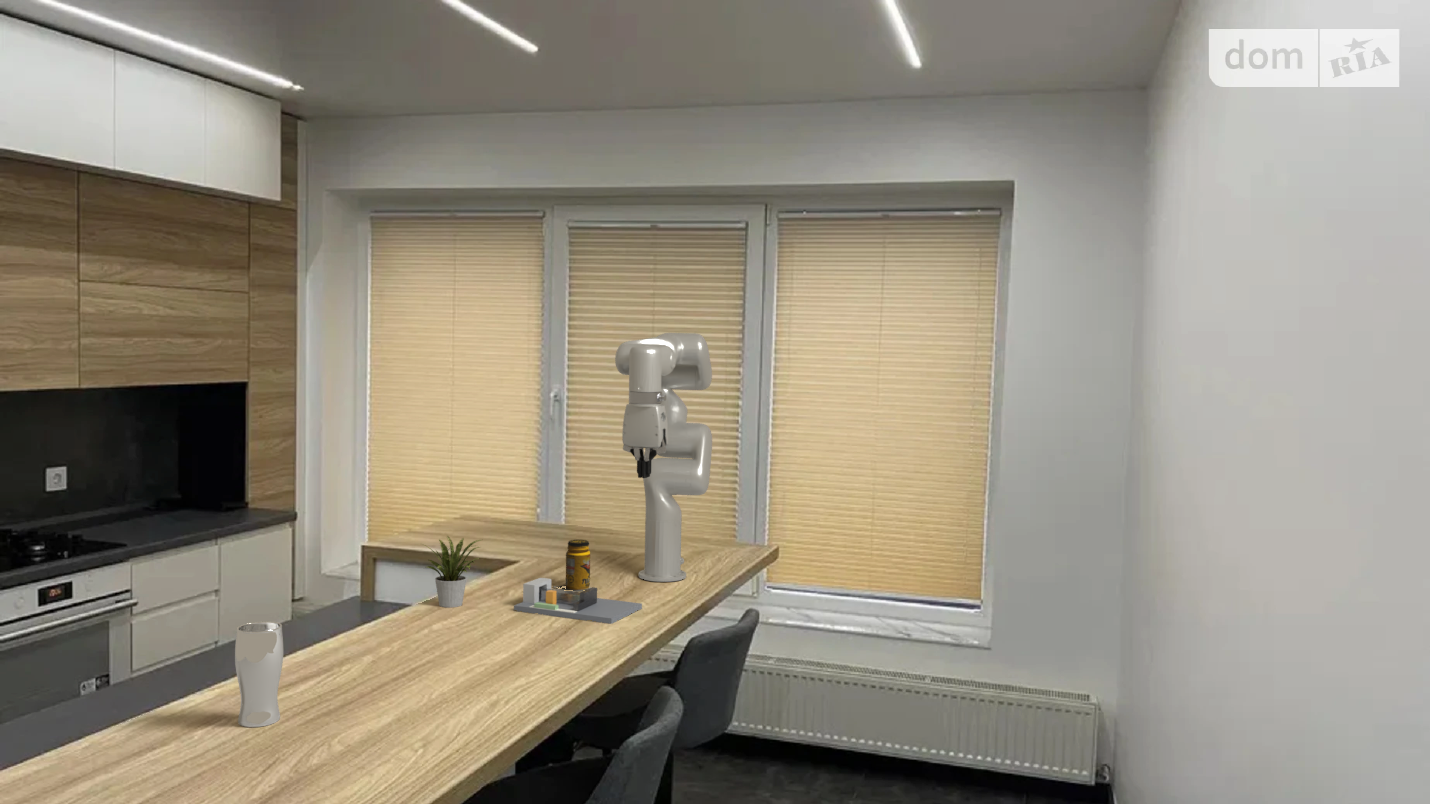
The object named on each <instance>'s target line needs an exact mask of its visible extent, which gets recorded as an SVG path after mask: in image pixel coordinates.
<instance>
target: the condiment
mask: <svg viewBox="0 0 1430 804" xmlns="http://www.w3.org/2000/svg"><path fill="white" fill-rule="evenodd" d="M590 581H591V551H590V542H589V541H588V540H586V539H571V540H569V541H568V542H567V551H566V553H565V584H563V585H553V586H552V587H553V589H556V587H558V588H559V587H560V588H561V587H562V586H566V589H565V588H562V589H558V588H557V589H556V590H573V591H572V592H582V591H583V590H587V589H590V588H592V586H590V584H591V582H590ZM589 587H590V588H589Z"/></svg>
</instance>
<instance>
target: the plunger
mask: <svg viewBox="0 0 1430 804" xmlns="http://www.w3.org/2000/svg"><path fill="white" fill-rule="evenodd" d="M548 590H554V591H557V593H556V603H562V604H570V605H574V611H580V610H582V609H584V608H586V607H589V606H591V605H593V604H595V603H597V598H598V588H597V587H594V586H593V587H592V586H591V588H590V589H587V590H585V591H578V592H577V591H576V592H572V591H564V590H557V589H556V588H551V589H547V588H539V601H546V591H548Z"/></svg>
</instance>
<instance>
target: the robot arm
mask: <svg viewBox="0 0 1430 804" xmlns="http://www.w3.org/2000/svg"><path fill="white" fill-rule="evenodd" d="M614 361H615V367H616V369H617V371H618V372H619V373H620V374H622V375H623V376H628V404H626V406H625V410H624V415H623V421H622V433H621V434H622V436H621V437H622V444H623V446H622V450H623V451H625V452H628V453H631V455H632V456H633V458H634V459H635V462H636V473H637V477H638V478H639V479H641V478H642V480H643V487H644V497H645V521H644V522H645V525H644V569H642V570H640V571H639V572H638V578H639V579H641V580H643V579H644V581H650V582H655V583H657V582H658V583H663V582H664V583H665V582H666V583H667V582H679V581H682V579H683V580H684V579H686V578H687V572H686V571H685V570H681V566H682V565H683V564H684V563H685V559H684V557H683V556H682V515H683V514H682V510H681V509H682V508H681V507H680V505H679V503H678V502H677V500H676V499H675V498H674V497H673V496H677V495H678V496H702V495H704V494H705V493H707V491H708V489H709V487H710V486H709V484H710V476H711V464H712V451H713V433H712V430H711V428H710V427H709V426H708V425H707V424H706V423H705V424H704V423H699V422H687V420H688V407H687V405H686V404H685V402H684V400H682V398H681V397H680V396H679V395H678V394H677V393H676V392H674V390H676V391H679V390H681V391H704V390H707V389H708V388H709V387H710V385H711V384H712V380H713V370H712V364H711V363H712V362H711V357H710V350H709V346H708V344H707V340H706V339H705V338H704V336H703V335H701V334H700V333H696V332H694V333H693V332H689V333H688V332H687V333H686V332H685V333H684V332H678V333H677V332H665V333H662V334H659V335H658V336H656V337H655V336H654V337H649V338H647V337H646V338H642V339H633V340H628V341H625V342H622V343H621V344H620V345H619V346H618V348H617V350H616V353H615V357H614ZM656 456H659V457H657V458H656Z"/></svg>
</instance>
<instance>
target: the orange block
mask: <svg viewBox="0 0 1430 804" xmlns="http://www.w3.org/2000/svg"><path fill="white" fill-rule="evenodd" d="M556 593H557V591H554V590H548V591H546V603H548V604H555V605H556Z"/></svg>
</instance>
